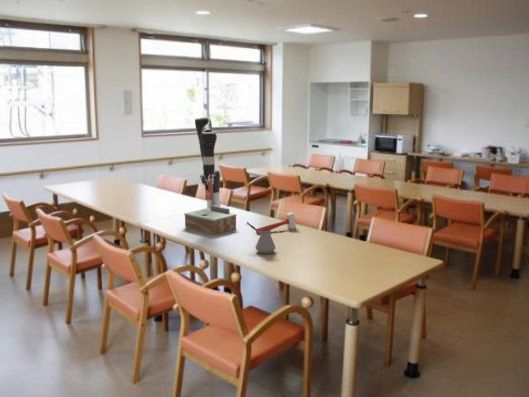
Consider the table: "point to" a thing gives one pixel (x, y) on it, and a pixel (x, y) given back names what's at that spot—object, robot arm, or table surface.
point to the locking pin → (209, 191)
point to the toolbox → (210, 225)
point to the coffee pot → (264, 241)
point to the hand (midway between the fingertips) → (209, 189)
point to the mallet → (282, 223)
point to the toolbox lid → (212, 213)
